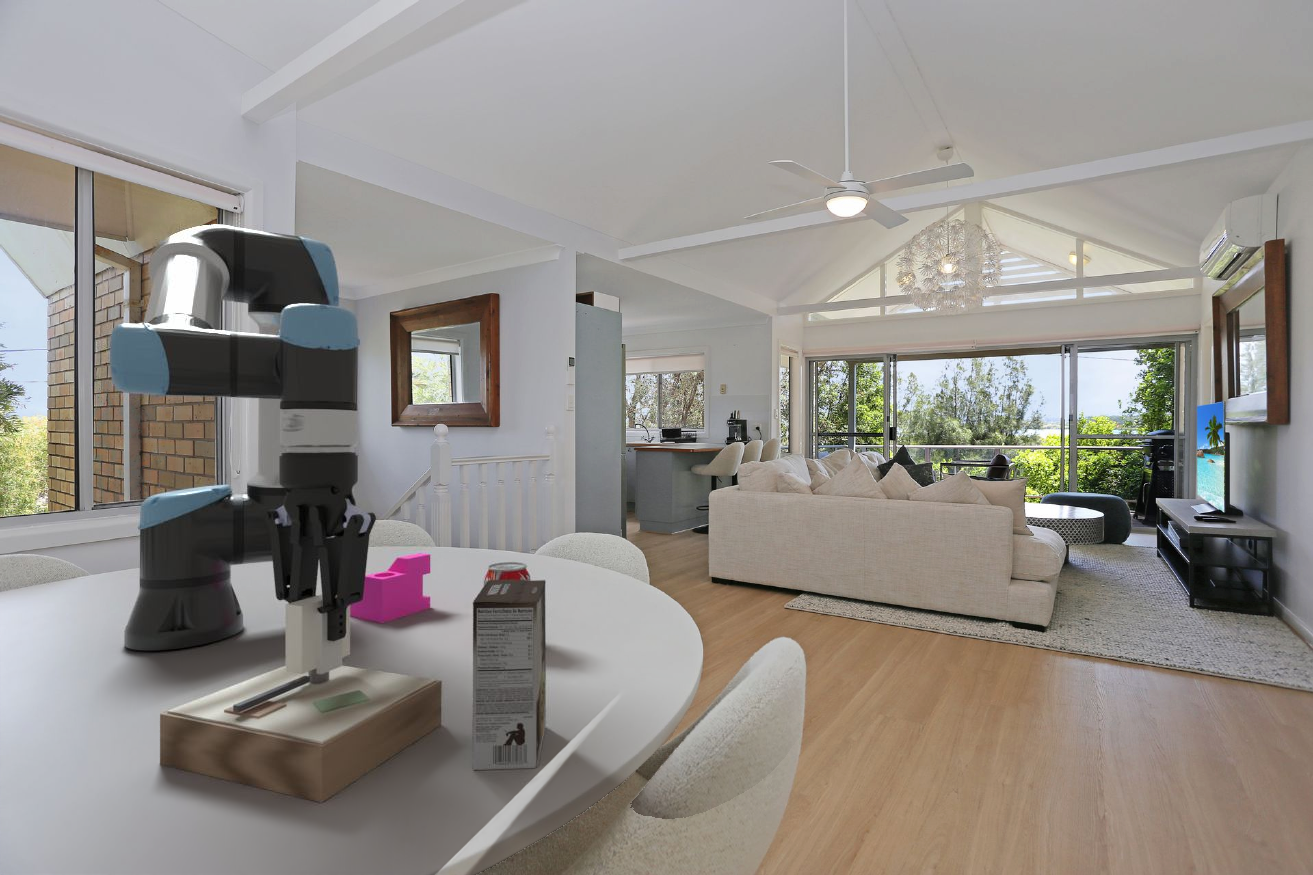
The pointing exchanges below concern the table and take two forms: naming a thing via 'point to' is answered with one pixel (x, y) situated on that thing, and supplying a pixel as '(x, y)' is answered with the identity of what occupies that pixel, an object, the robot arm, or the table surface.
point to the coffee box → (509, 674)
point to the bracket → (394, 590)
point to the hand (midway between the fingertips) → (318, 667)
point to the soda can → (507, 572)
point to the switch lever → (300, 649)
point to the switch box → (301, 729)
